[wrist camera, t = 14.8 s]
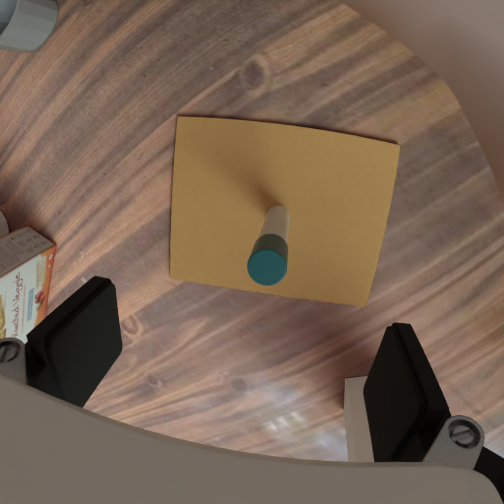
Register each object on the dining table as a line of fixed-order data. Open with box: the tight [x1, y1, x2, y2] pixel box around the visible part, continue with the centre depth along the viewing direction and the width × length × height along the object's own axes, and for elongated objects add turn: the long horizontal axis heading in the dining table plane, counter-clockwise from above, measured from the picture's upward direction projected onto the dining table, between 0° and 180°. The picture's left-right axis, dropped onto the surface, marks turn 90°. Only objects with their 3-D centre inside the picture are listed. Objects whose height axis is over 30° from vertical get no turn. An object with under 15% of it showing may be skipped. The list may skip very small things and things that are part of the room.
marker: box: [247, 205, 289, 286], centre depth 23 cm, size 2×2×12 cm
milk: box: [344, 376, 374, 462], centre depth 25 cm, size 6×6×22 cm
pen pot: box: [0, 0, 58, 53], centre depth 21 cm, size 8×8×7 cm
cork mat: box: [170, 116, 400, 307], centre depth 29 cm, size 16×20×1 cm
